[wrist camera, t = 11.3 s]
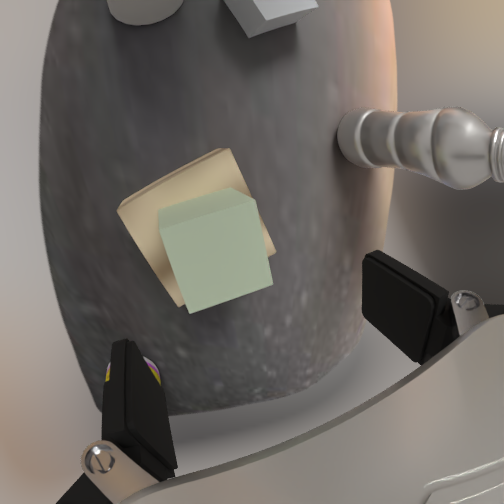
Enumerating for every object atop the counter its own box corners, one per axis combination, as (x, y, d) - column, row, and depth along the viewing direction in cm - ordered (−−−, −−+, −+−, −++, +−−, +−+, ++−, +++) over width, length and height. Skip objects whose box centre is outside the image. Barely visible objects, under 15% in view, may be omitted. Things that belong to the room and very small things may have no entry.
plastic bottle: (375, 116, 30) (530, 127, 12) (369, 170, 32) (522, 211, 14) (332, 102, 27) (504, 93, 10) (325, 161, 30) (497, 199, 12)
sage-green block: (158, 209, 22) (158, 230, 16) (231, 187, 23) (255, 200, 17) (180, 276, 24) (189, 313, 19) (247, 254, 25) (273, 284, 20)
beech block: (123, 199, 25) (116, 210, 20) (216, 148, 26) (229, 148, 22) (174, 283, 29) (178, 307, 25) (258, 235, 30) (276, 252, 26)
